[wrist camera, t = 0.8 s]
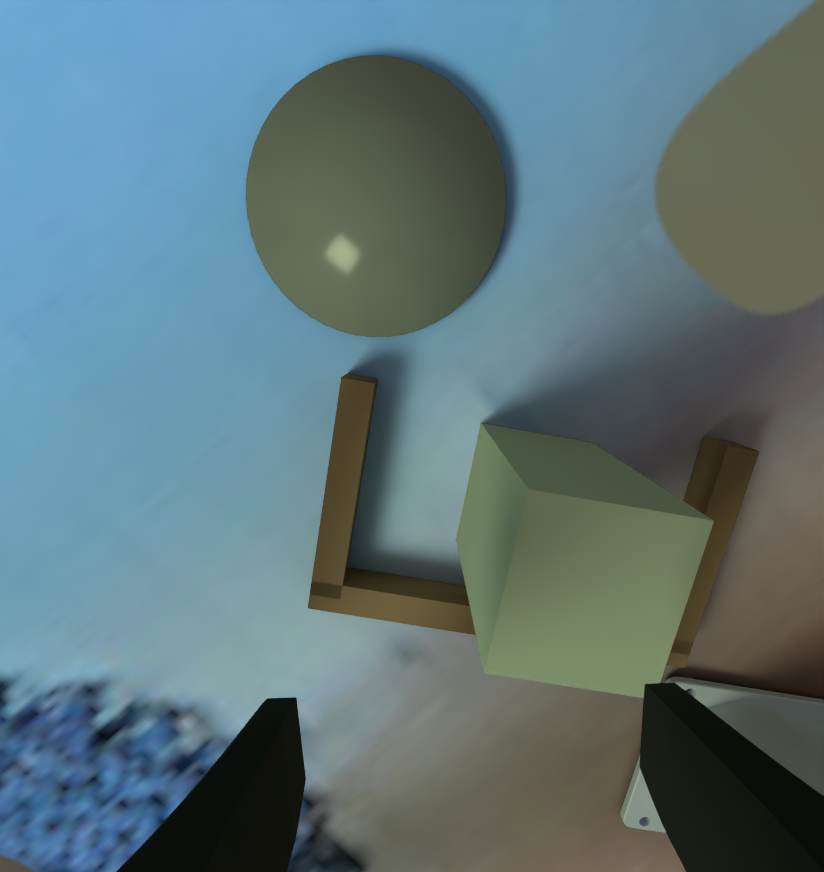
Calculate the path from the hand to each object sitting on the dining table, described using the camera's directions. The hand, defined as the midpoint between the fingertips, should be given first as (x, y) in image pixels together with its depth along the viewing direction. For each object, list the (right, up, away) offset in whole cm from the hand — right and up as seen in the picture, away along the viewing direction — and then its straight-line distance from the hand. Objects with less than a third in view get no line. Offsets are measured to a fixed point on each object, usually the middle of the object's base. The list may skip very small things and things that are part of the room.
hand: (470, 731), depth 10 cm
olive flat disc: (-2, +14, +7) cm, 16 cm away
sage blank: (+3, +4, +10) cm, 11 cm away
